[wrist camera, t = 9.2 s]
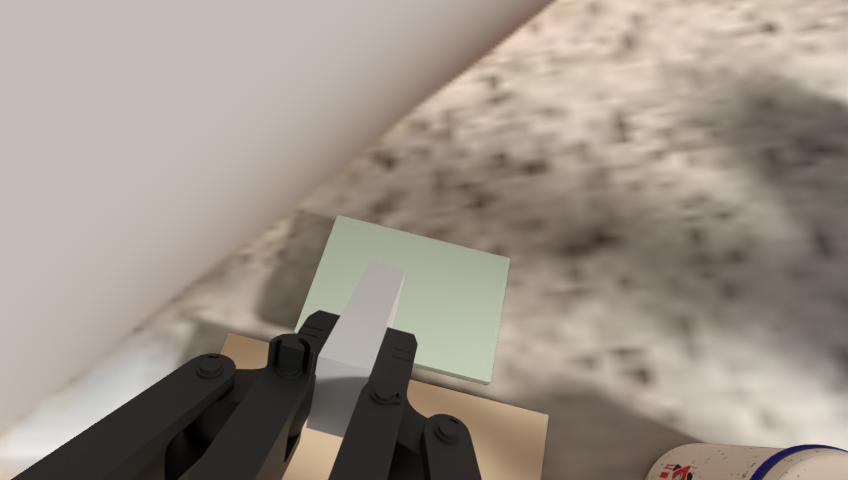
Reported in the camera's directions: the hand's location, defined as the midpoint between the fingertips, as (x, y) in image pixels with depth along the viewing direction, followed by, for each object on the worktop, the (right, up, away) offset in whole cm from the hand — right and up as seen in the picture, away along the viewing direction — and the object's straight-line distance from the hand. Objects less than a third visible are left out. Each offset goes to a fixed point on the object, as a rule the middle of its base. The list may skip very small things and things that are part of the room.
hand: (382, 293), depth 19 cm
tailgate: (0, -5, +6) cm, 8 cm away
